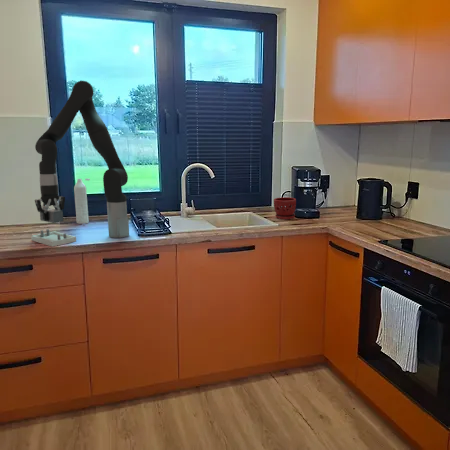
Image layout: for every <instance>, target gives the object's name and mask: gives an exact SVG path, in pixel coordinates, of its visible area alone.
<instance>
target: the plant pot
mask: <svg viewBox="0 0 450 450" xmlns="http://www.w3.org/2000/svg"><path fill="white" fill-rule="evenodd" d="M296 207H297V199H296V198H294V197H291V196H290V197H286V196H284V197H282V196H281V197H276V198H274V199H273V208H274V212H275V218H276V219H279V220H285V221H286V220H293V219H295V218H296V217H295V216H296V214H295V213H296V212H295V211H296V209H297V208H296Z"/></svg>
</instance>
